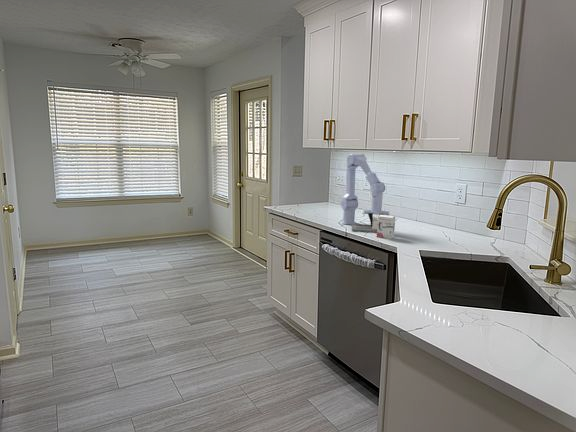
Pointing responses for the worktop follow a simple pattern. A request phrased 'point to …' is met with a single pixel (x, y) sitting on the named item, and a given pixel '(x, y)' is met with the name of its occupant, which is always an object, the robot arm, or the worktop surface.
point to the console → (363, 228)
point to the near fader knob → (374, 224)
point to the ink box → (386, 226)
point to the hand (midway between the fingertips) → (375, 226)
